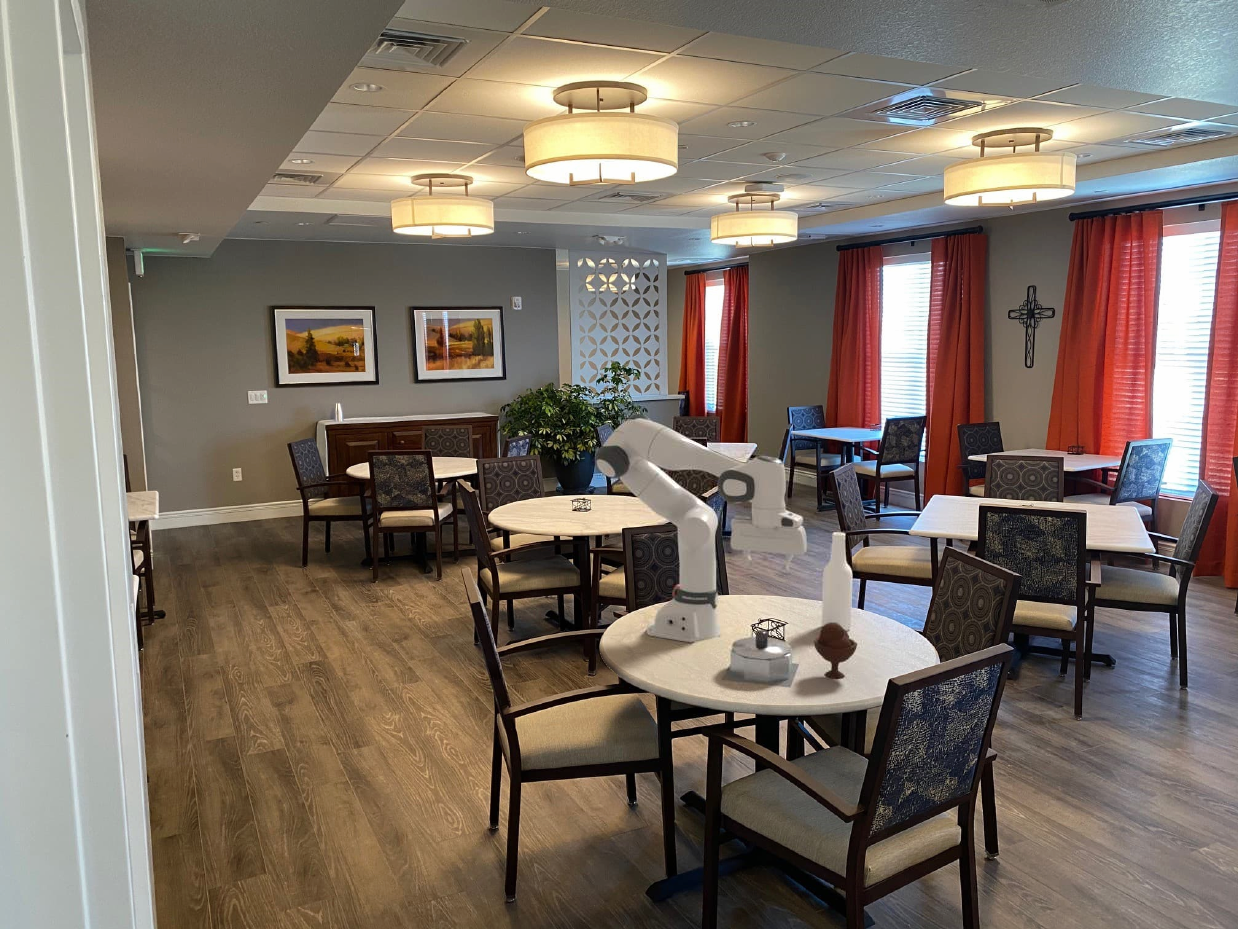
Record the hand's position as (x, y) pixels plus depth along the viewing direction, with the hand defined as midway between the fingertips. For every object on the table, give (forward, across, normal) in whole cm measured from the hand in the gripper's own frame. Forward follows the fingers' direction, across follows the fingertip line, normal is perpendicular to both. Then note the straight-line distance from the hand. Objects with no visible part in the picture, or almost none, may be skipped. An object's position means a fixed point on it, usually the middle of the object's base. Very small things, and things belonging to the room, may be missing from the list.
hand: (767, 568), depth 242 cm
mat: (+28, -1, -3) cm, 28 cm away
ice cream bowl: (+28, +18, +2) cm, 34 cm away
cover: (+28, -1, -3) cm, 28 cm away
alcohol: (+28, +10, +44) cm, 53 cm away
